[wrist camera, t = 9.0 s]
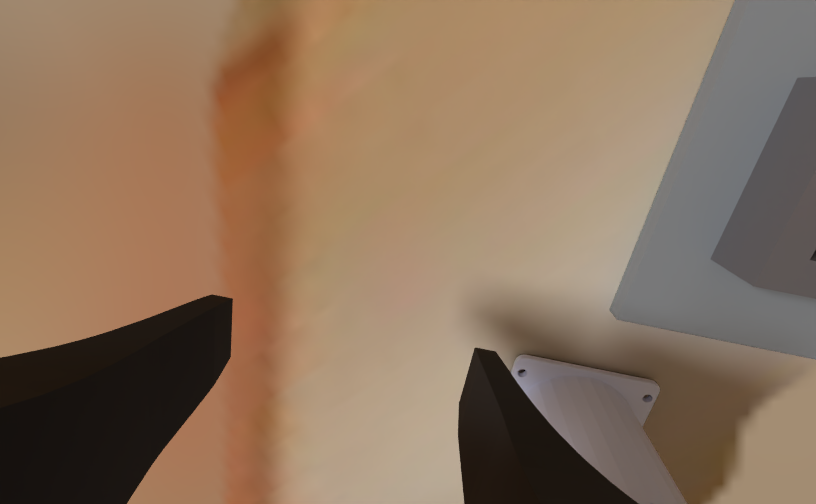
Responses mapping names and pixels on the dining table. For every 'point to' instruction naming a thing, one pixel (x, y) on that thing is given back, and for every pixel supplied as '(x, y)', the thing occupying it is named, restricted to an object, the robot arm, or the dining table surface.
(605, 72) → the dining table surface
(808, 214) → the socket board
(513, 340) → the dining table surface
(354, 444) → the dining table surface
